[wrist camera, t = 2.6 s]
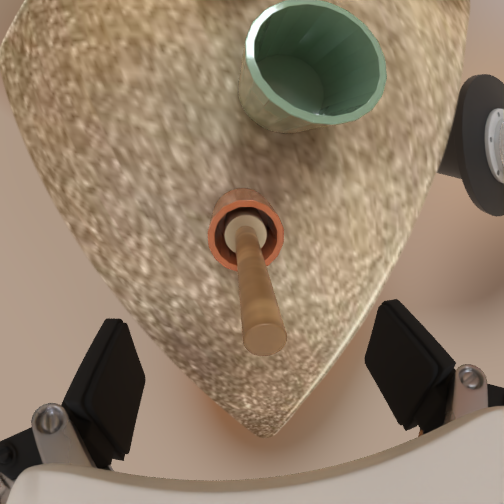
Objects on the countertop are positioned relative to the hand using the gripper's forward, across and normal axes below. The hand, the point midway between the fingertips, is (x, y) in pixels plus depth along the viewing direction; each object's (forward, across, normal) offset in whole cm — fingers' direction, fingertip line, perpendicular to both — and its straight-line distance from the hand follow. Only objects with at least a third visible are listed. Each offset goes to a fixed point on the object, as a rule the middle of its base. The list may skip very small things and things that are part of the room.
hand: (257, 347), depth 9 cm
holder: (+18, 0, 0) cm, 18 cm away
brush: (+17, 0, 0) cm, 17 cm away
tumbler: (+18, -4, -12) cm, 22 cm away
